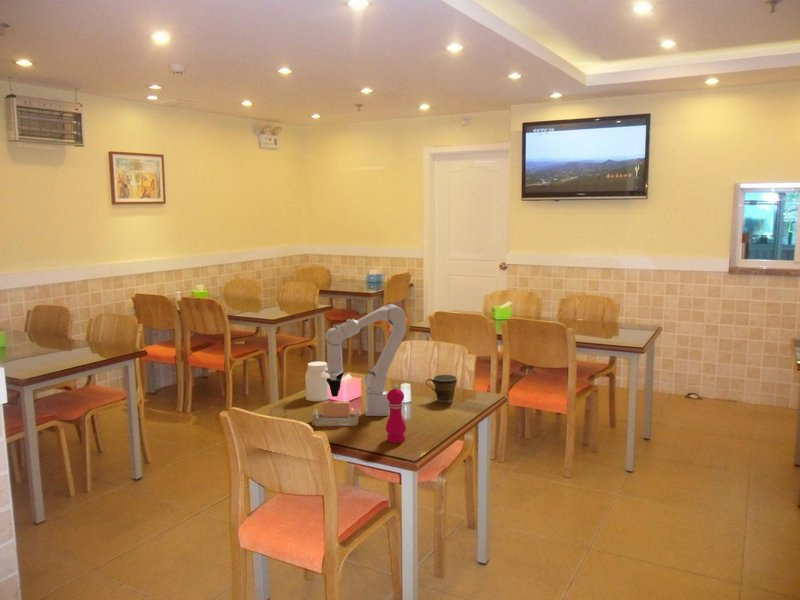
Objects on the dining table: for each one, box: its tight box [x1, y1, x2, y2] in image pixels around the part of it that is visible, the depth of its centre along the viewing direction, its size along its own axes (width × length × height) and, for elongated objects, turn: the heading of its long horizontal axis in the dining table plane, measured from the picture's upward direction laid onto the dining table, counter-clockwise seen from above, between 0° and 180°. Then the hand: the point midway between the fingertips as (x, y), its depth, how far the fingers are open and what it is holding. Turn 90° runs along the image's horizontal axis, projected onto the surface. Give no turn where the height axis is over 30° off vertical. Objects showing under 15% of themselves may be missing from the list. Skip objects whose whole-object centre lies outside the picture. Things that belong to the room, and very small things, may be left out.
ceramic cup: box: [425, 374, 458, 404], centre depth 274 cm, size 13×10×10 cm
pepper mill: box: [385, 384, 407, 444], centre depth 228 cm, size 7×7×20 cm
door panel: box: [322, 400, 351, 418], centre depth 248 cm, size 10×2×7 cm, turn 89°
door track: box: [311, 407, 360, 427], centre depth 248 cm, size 17×8×4 cm, turn 89°
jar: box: [304, 360, 331, 402], centre depth 281 cm, size 12×10×15 cm
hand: (335, 393), depth 253 cm, fingers open, 7 cm apart
